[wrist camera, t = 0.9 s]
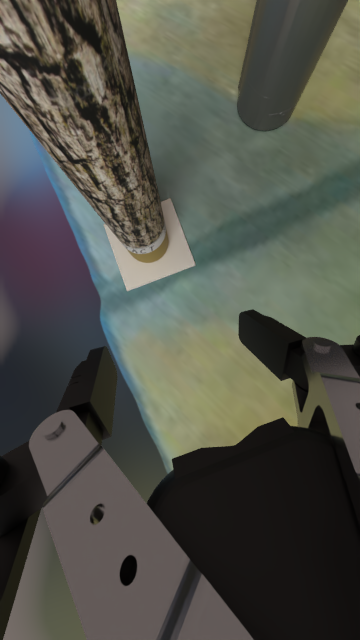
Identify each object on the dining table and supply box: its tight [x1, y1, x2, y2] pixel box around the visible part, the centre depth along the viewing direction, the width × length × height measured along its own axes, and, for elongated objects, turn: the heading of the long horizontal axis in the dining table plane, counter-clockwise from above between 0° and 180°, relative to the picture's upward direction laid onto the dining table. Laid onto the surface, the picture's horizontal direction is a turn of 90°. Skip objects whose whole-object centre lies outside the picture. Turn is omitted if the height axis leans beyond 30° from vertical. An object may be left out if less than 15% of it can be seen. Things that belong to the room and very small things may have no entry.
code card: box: [104, 198, 195, 291], centre depth 28 cm, size 12×12×1 cm
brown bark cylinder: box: [0, 0, 169, 263], centre depth 16 cm, size 7×7×25 cm
